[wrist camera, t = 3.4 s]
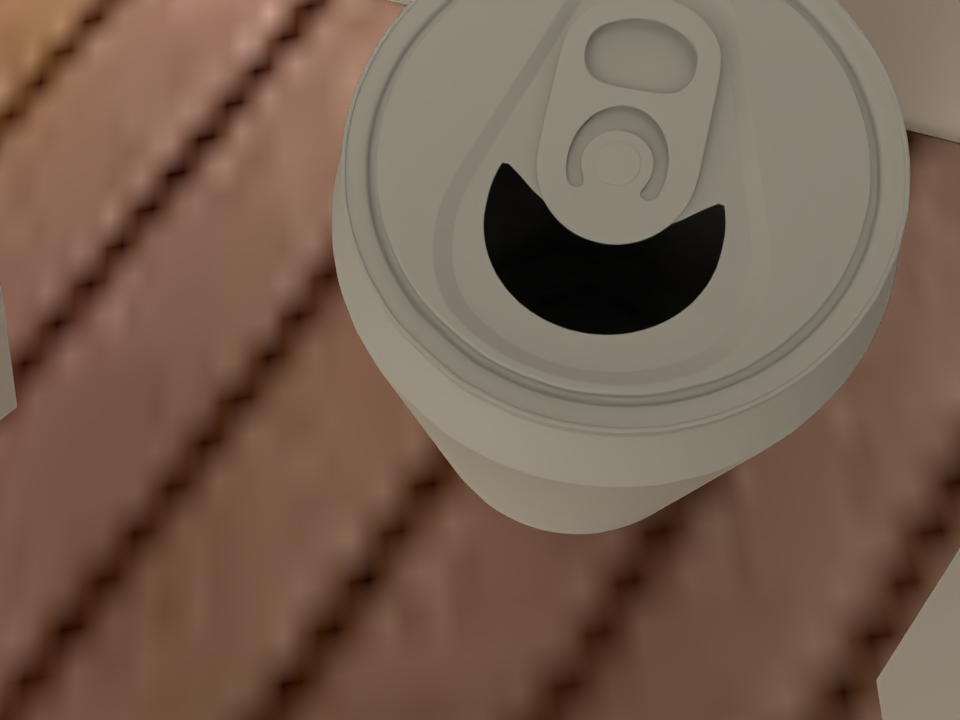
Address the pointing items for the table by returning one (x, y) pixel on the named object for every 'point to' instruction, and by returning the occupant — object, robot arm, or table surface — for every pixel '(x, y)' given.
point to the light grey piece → (914, 57)
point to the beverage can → (617, 236)
